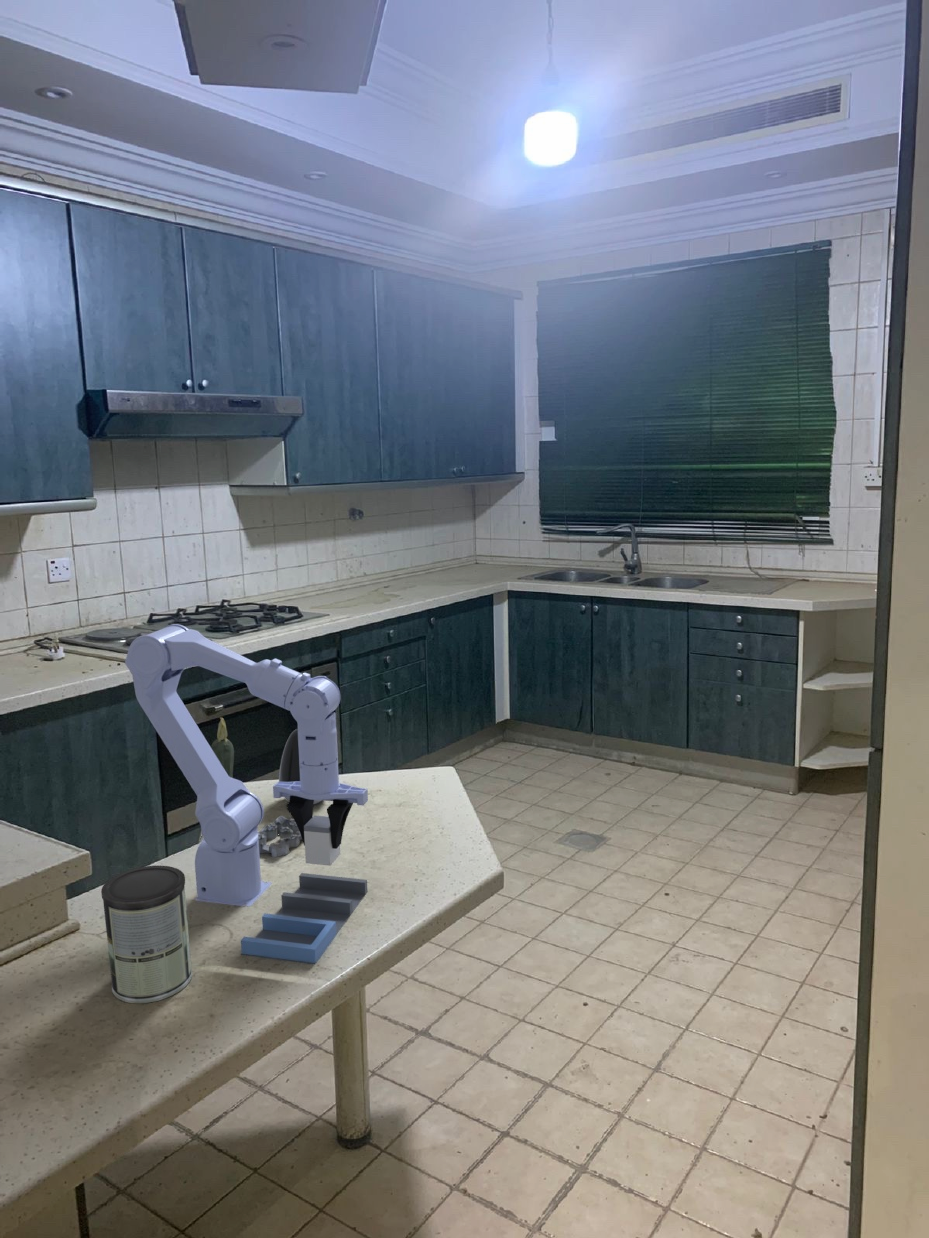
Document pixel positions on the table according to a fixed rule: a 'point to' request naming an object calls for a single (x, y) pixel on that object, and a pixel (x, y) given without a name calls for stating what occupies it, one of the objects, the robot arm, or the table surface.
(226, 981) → the table surface
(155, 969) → the coffee can
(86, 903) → the table surface
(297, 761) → the black penguin toy
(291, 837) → the grey lumpy cluster
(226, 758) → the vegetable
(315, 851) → the grey square block
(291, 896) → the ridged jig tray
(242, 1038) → the table surface
